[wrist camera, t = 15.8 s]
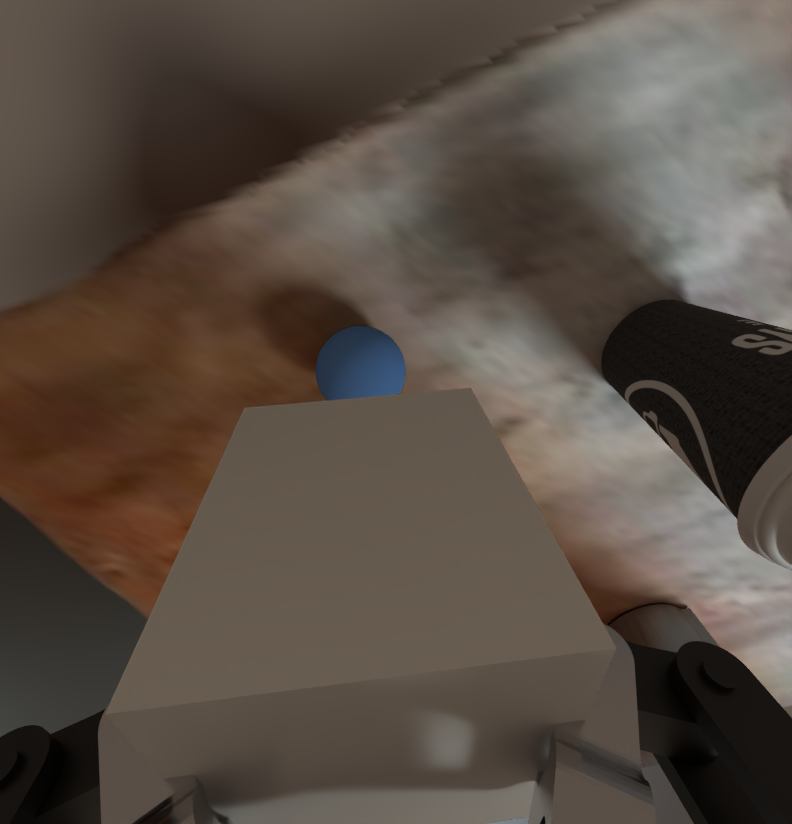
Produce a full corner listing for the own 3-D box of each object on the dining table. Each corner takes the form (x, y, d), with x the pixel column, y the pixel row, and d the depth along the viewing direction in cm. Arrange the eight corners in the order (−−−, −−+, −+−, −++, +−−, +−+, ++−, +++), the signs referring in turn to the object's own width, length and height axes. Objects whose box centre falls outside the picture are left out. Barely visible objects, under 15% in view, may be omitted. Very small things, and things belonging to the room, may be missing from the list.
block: (470, 388, 12) (616, 647, 5) (462, 541, 15) (545, 814, 9) (244, 407, 11) (105, 714, 5) (287, 560, 15) (238, 861, 8)
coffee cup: (709, 392, 29) (998, 569, 16) (578, 424, 29) (757, 624, 16) (738, 255, 24) (1192, 353, 11) (579, 297, 24) (838, 438, 11)
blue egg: (411, 361, 19) (410, 429, 23) (399, 304, 22) (400, 371, 26) (305, 371, 19) (322, 438, 22) (309, 311, 22) (323, 378, 26)
